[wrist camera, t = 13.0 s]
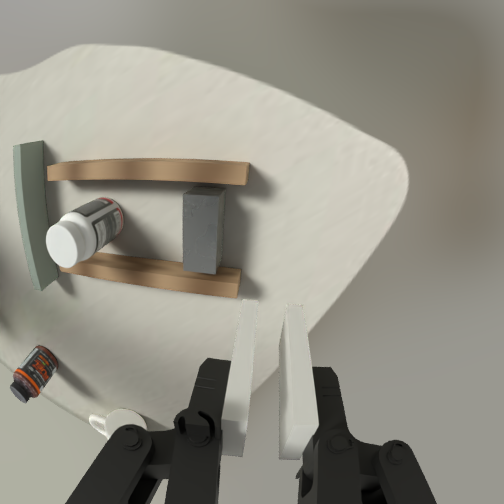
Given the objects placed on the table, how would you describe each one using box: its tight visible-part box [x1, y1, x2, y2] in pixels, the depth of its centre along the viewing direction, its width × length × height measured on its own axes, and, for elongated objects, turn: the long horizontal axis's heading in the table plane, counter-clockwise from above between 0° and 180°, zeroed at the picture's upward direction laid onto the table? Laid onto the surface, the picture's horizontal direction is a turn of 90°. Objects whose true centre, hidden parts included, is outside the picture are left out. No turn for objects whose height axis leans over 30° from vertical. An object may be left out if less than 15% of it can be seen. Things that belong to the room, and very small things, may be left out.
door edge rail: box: [13, 141, 59, 291], centre depth 25 cm, size 2×18×4 cm, turn 175°
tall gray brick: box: [183, 187, 226, 274], centre depth 25 cm, size 3×7×4 cm, turn 175°
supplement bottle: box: [10, 346, 58, 403], centre depth 33 cm, size 6×6×11 cm
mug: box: [89, 409, 147, 440], centre depth 40 cm, size 12×10×8 cm
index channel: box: [47, 158, 250, 298], centre depth 25 cm, size 21×12×3 cm, turn 85°
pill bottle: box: [46, 197, 123, 268], centre depth 23 cm, size 5×5×8 cm
